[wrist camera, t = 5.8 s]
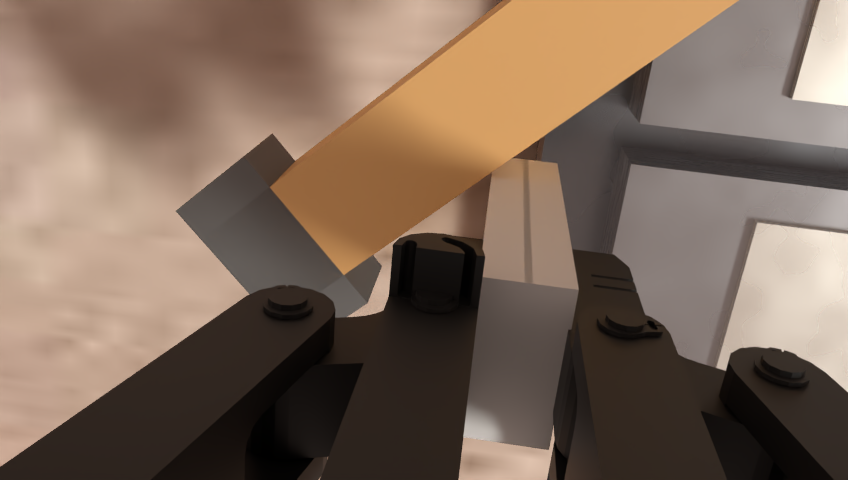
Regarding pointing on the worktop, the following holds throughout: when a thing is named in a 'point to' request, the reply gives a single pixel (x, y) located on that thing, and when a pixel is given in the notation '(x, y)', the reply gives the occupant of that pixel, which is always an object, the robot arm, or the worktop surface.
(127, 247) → the worktop surface
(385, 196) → the bar
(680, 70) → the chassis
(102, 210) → the worktop surface
